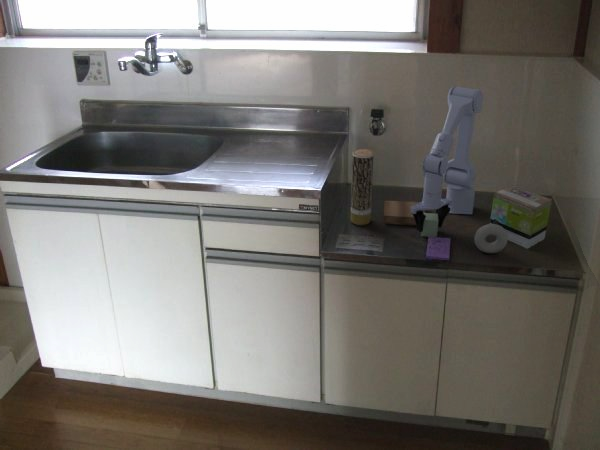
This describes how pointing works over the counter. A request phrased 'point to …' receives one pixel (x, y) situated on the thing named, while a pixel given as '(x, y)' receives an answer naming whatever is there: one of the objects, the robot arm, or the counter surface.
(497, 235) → the donut
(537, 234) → the tea box
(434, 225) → the block
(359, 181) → the paper tube
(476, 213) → the counter surface
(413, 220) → the plinth
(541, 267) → the counter surface
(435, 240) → the sponges
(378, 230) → the counter surface
